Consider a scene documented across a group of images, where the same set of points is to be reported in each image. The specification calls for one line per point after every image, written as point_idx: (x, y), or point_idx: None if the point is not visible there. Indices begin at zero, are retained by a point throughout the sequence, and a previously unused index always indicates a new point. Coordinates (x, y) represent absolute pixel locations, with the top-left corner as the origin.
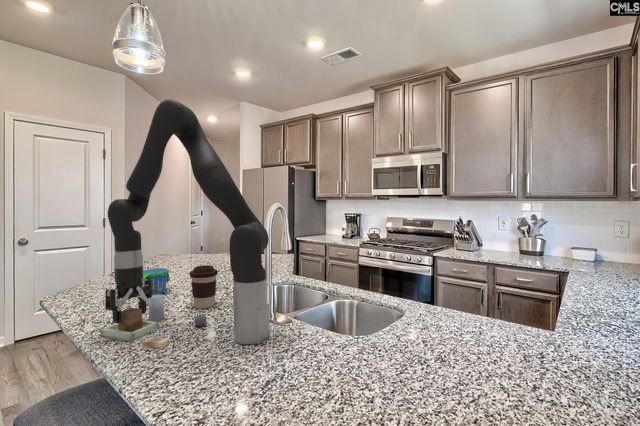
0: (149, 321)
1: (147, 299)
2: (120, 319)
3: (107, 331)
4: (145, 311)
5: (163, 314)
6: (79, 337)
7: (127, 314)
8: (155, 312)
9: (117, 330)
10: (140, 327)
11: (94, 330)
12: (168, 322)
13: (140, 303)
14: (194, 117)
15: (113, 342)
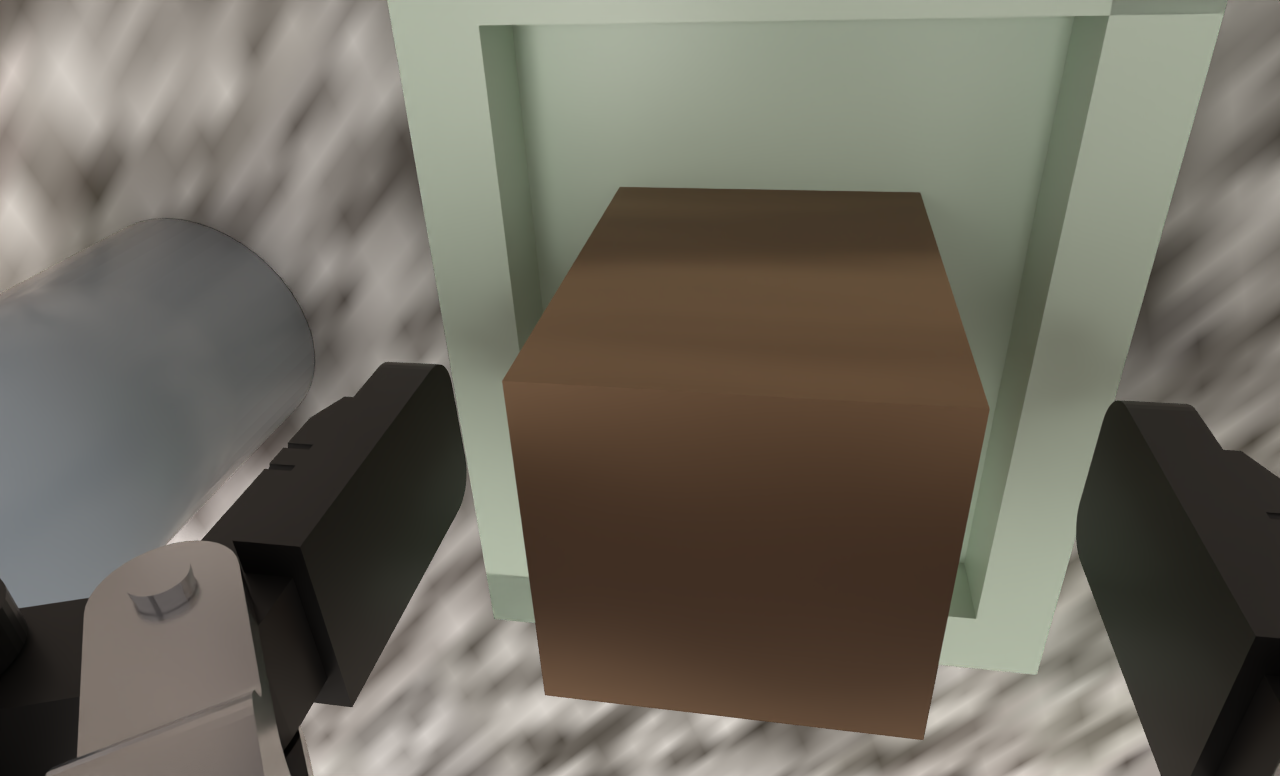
0: (441, 187)
1: (119, 568)
2: (1186, 444)
3: (1065, 539)
4: (382, 374)
5: (59, 263)
6: (1102, 769)
7: (968, 460)
8: (157, 345)
9: (1039, 399)
10: (659, 198)
11: (856, 765)
12: (141, 11)
13: (353, 616)
14: None
15: (1255, 218)
